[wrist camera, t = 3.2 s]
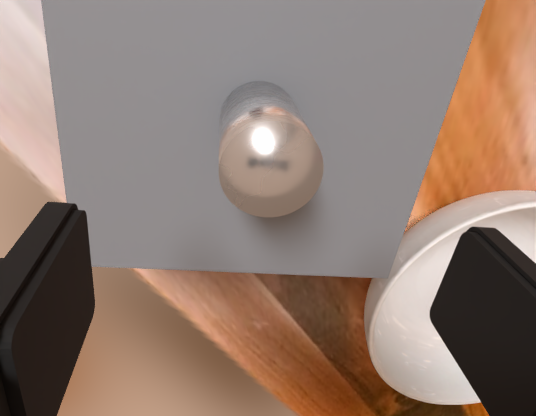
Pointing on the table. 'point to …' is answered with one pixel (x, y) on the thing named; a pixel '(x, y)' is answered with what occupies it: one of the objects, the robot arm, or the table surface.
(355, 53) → the cover
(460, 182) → the table surface
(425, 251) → the serving bowl
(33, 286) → the robot arm
